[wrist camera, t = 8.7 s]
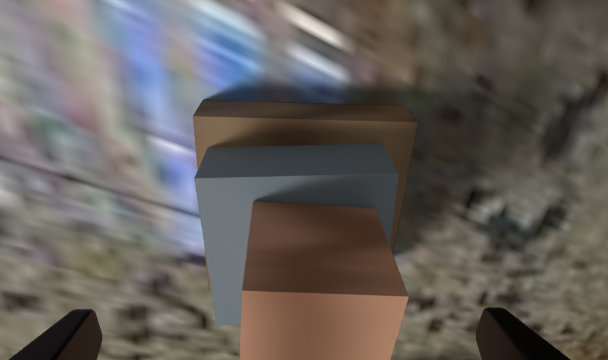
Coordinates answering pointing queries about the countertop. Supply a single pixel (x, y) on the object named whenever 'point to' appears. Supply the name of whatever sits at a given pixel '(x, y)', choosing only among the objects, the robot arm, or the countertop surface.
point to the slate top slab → (280, 199)
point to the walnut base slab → (308, 131)
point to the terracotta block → (319, 285)
